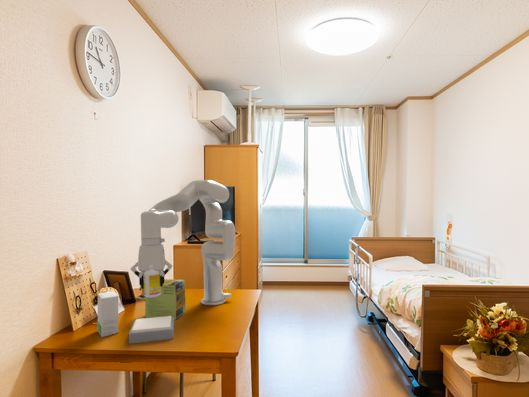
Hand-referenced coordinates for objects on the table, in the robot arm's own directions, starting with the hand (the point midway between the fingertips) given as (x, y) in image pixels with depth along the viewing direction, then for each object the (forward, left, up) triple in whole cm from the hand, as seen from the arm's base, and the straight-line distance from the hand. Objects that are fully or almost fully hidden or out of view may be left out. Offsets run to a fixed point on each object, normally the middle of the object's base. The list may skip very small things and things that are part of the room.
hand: (152, 286), depth 133 cm
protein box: (-4, -21, -19) cm, 29 cm away
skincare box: (+18, -7, -19) cm, 27 cm away
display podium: (0, 0, -19) cm, 19 cm away
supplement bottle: (0, 0, -4) cm, 4 cm away
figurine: (+8, -53, -19) cm, 57 cm away
